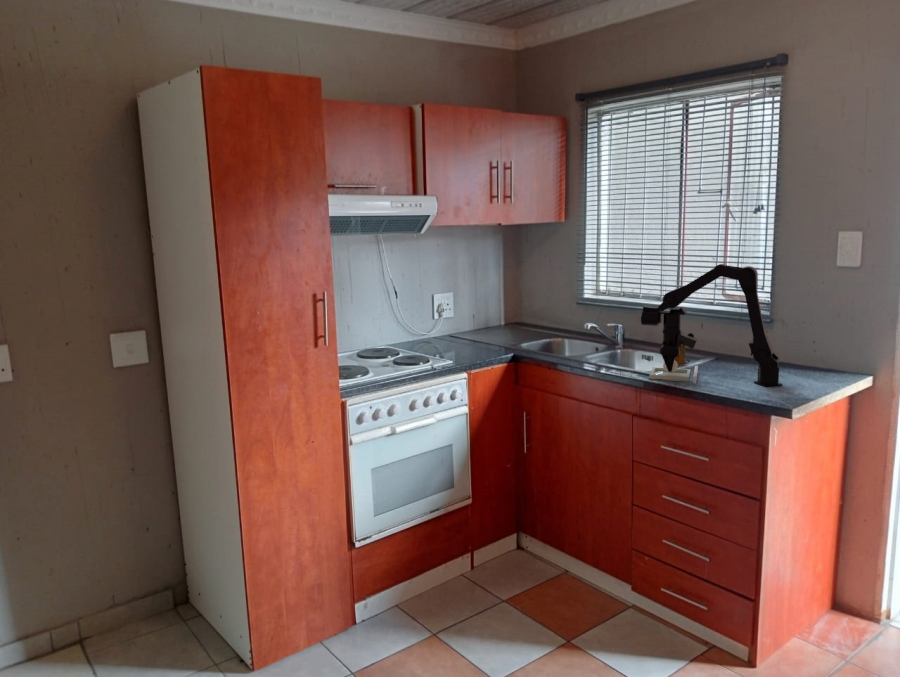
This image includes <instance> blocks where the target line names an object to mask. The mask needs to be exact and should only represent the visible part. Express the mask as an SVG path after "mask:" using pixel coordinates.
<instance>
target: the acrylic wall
mask: <svg viewBox="0 0 900 677" xmlns="http://www.w3.org/2000/svg"><path fill="white" fill-rule="evenodd" d="M698 374H699V366H698V365H695V366H694V370H693V375H692V376H693V377H692V384H697V380H698Z"/></svg>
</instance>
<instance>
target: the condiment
mask: <svg viewBox="0 0 900 677" xmlns="http://www.w3.org/2000/svg"><path fill="white" fill-rule="evenodd" d="M681 333H682V334H685V333H684V332H681ZM678 347H679V346H678ZM679 348H681V350H680V351H679V355H678V356H677V357H675V361H676V362H677V364H678V366H686V367H687V365H688V363H689V361H688V360H686V346H685V345H682V346H681V347H679Z"/></svg>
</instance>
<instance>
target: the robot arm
mask: <svg viewBox="0 0 900 677" xmlns="http://www.w3.org/2000/svg"><path fill="white" fill-rule="evenodd" d="M758 276H759V275H758V270H757V269H756V268H755V267H753V266H750V265H747V266H745V267H740V266H733V265H726V264H723V263H719V264H717V265H715V266H714V267H713V268H712V269H710V270H709V271H707V272H705V273H704V274H702V275H700V276H698V277H697V278H695V279H694V280H692V281H691V282H689V283H687V284H685V285H683V286H680V287H677V288H675V289H673V290H670V291H668V292H666V293H665V294H664V295H663V298H662V302H661V303H660V304H659V305H658V306H646V305H644V306H643V307H642V312H641V315H640V323H641V325H642V326H650V327H651V326H653V327H659V326H660V324H662V323H663V325H662V326H663V327H662V342H661V344H662V345H661V346H660V348H659V355H661V356H662V359H663V363H664V362H665V364H666V367H667V369H668V371H669V372H671V371H672V368H673V363H674V360H675V357H677V356H678V355H679V351H680V350H681V348H679V347H681V346H682V345H685V347H688V348H689V349H691V350H694V348H695V346H696V344H697V342H698V338H696V337H695V334H694V333H692V332H688V333H687V334H686V333H684V334H682V333H683V332H682V329H681V318H682V317H681V315H682V316H685V315H686V314H687V312H688V311H687V310H685V309H684V307H680V308H679V309H677V307H678V306H679V305H681V304H683V302H684V301H686V299H688V298H689V297H690V296H691V295H693V293H696V292H697V291H699V290H701V289H703V288H704V287H706V286H707V285H709V284H710V283H713V282H714V281H715V280H717V279H719V278H721V277H723V278H725V279H731V280H734V281H737V282H738V284H739V286H740V288H741V290H742V293H743V295H744V296H745V301H746V308H747V311H748V316H749V317H748V318H749V322H750V328H751V333H752V340H750V341H749V342H748V347H749V349H750V356H752V358H753V359H754V361H756V362H757V363H758V369H757V380H753V383H754V384H756V385H760V386H762V387H777V386H778V387H779V386H783V383H781V382H779V379H780V378H779V377H780V367H779V362H780V358H779V356H777V355H776V354H775V353H774V350H773V347H772V345H771V341H770V340H769V337H768V335H767V333H766V330H765V325H764V320H763V315H762V309H761V305H760V299H759V294H758V285H759V283H758V279H759V278H758ZM667 309H669V311H666V310H667ZM678 346H679V347H678Z"/></svg>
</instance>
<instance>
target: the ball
mask: <svg viewBox="0 0 900 677" xmlns="http://www.w3.org/2000/svg"><path fill="white" fill-rule="evenodd" d="M662 368H664V370H665V371H666V372H668V373H673V372H675V371H676V370H677V369H679V365H678V364H677V362H676V361H675V360H674V363H673V368H672V371H671V372H669V371H668V369H667V367H666V364H665V362H664V361H663V365H662Z"/></svg>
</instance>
